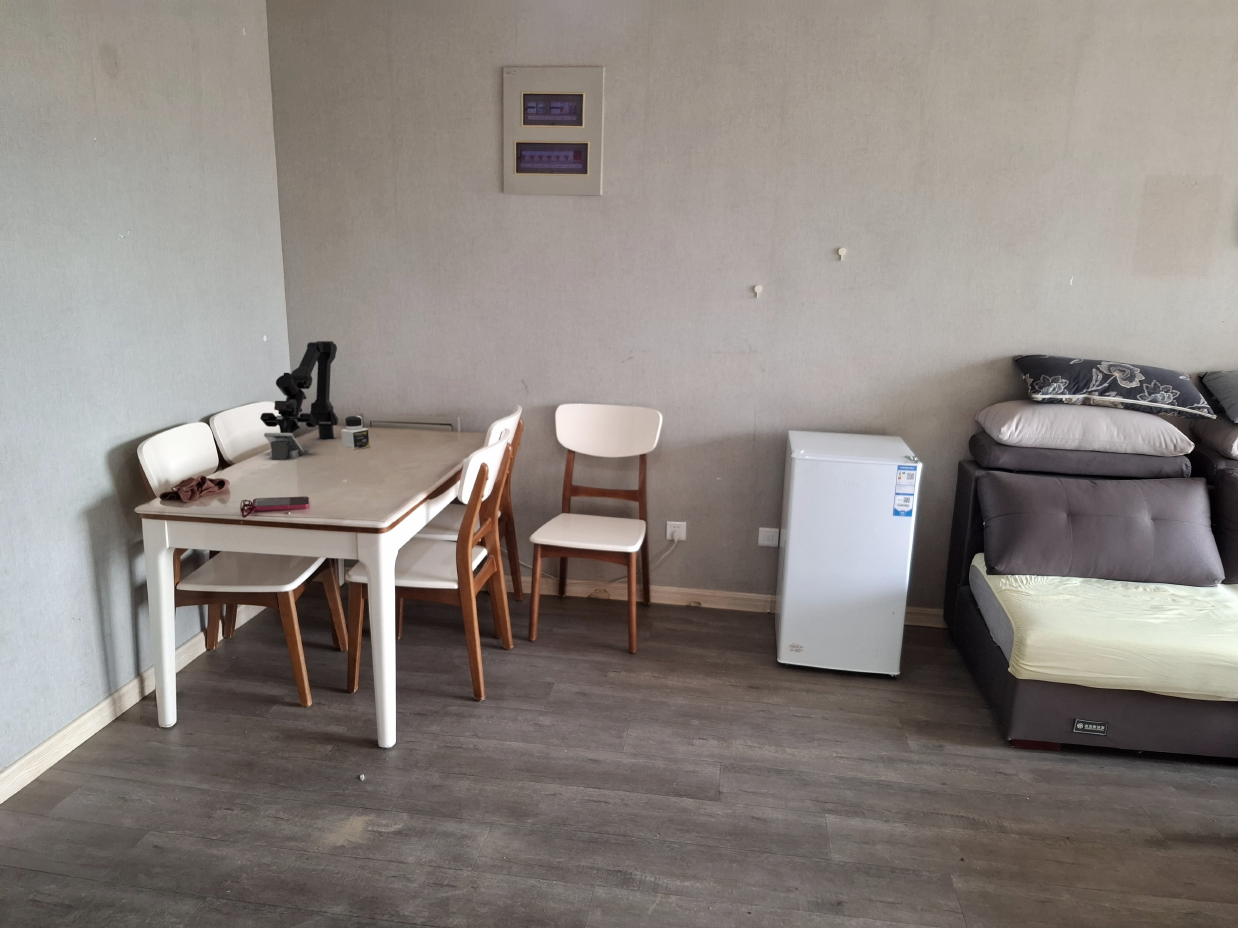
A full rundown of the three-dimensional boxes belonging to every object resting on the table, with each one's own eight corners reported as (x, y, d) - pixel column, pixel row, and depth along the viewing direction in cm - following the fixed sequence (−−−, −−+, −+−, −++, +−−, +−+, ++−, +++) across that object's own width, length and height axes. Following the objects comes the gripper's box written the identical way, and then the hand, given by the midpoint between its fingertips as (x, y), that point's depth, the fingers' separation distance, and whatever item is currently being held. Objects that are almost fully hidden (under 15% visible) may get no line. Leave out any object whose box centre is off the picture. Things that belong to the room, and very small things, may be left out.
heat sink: (274, 453, 303) (272, 436, 302) (309, 454, 302) (307, 436, 301) (261, 460, 294) (259, 441, 293) (297, 460, 293) (295, 442, 291)
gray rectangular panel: (278, 453, 303) (279, 451, 303) (304, 454, 302) (305, 451, 302) (263, 435, 292) (264, 432, 293) (291, 435, 291) (292, 433, 292)
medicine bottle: (354, 450, 312) (351, 419, 309) (342, 448, 316) (339, 417, 313) (369, 446, 318) (367, 416, 315) (357, 444, 322) (355, 414, 319)
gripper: (259, 390, 297) (247, 428, 290) (309, 391, 295) (298, 428, 288) (272, 407, 307) (261, 444, 299) (321, 408, 305) (311, 444, 298)
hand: (282, 440), depth 296 cm, fingers closed, pressing on gray rectangular panel
